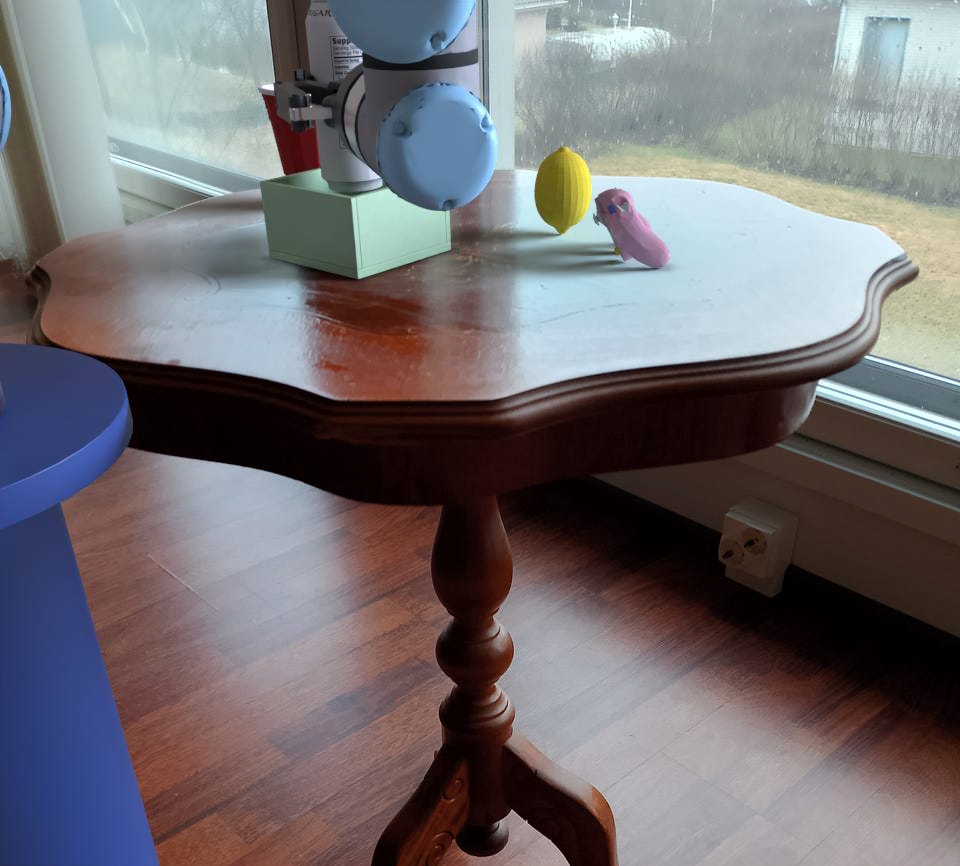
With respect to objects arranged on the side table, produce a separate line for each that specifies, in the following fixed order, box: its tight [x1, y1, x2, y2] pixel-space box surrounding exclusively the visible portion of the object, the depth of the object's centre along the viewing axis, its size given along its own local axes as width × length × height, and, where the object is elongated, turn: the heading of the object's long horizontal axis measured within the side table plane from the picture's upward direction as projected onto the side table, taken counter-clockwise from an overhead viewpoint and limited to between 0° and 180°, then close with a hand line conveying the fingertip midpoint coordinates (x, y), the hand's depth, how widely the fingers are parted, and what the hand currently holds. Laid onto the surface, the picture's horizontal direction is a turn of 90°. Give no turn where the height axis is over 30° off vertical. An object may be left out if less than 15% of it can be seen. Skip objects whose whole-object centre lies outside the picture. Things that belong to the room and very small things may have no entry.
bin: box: [259, 168, 452, 280], centre depth 100 cm, size 12×12×7 cm
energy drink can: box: [304, 0, 382, 192], centre depth 94 cm, size 6×6×15 cm
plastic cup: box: [257, 83, 320, 176], centre depth 116 cm, size 11×11×12 cm
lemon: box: [533, 146, 593, 235], centre depth 104 cm, size 6×6×8 cm
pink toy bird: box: [592, 187, 671, 269], centre depth 97 cm, size 10×5×7 cm, turn 3°
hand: (336, 82), depth 98 cm, fingers closed on energy drink can, 6 cm apart
